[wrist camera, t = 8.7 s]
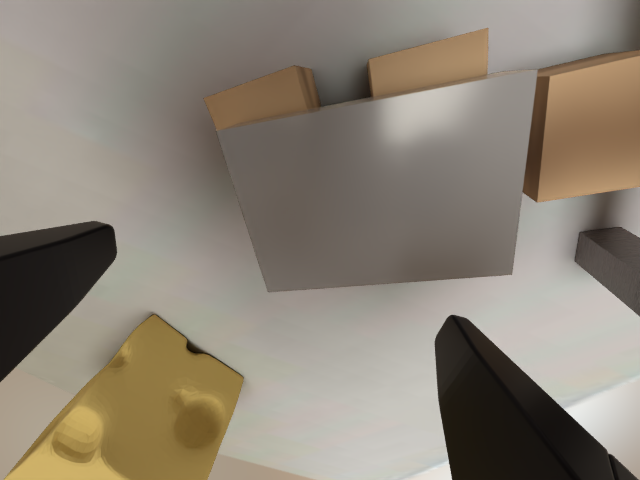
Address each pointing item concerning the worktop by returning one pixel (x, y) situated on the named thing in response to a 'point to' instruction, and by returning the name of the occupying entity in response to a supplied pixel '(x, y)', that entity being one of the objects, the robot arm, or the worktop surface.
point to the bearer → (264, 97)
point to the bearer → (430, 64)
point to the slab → (387, 184)
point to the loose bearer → (585, 128)
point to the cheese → (140, 416)
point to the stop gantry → (613, 262)
